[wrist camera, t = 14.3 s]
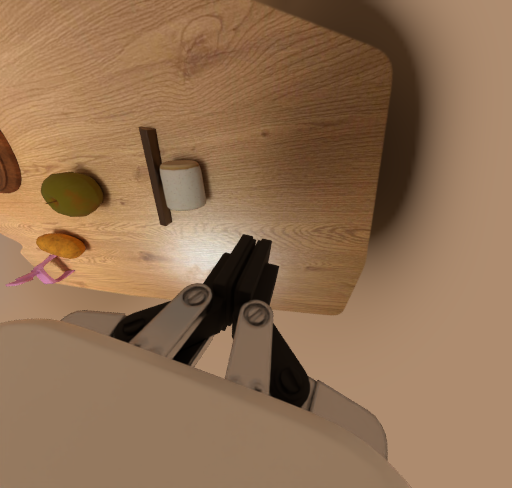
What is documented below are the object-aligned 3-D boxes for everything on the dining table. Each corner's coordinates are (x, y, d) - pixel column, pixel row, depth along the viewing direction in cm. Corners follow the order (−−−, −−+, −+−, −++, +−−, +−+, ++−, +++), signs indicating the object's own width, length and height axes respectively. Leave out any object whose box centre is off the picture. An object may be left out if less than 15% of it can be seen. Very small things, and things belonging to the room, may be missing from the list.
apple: (69, 169, 48) (13, 182, 39) (95, 164, 45) (41, 177, 36) (93, 207, 53) (48, 226, 44) (119, 205, 50) (76, 224, 41)
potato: (50, 224, 63) (24, 235, 57) (87, 236, 61) (64, 248, 55) (60, 242, 67) (36, 253, 62) (95, 253, 65) (74, 266, 60)
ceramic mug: (206, 158, 37) (182, 167, 31) (213, 199, 41) (193, 214, 35) (160, 157, 40) (130, 165, 33) (171, 196, 44) (146, 209, 38)
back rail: (155, 128, 36) (146, 129, 35) (172, 221, 48) (166, 226, 46) (140, 126, 37) (131, 127, 35) (161, 219, 49) (154, 223, 47)
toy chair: (65, 272, 79) (20, 301, 67) (48, 255, 75) (-4, 282, 63) (77, 271, 76) (31, 301, 64) (59, 253, 72) (7, 281, 60)
